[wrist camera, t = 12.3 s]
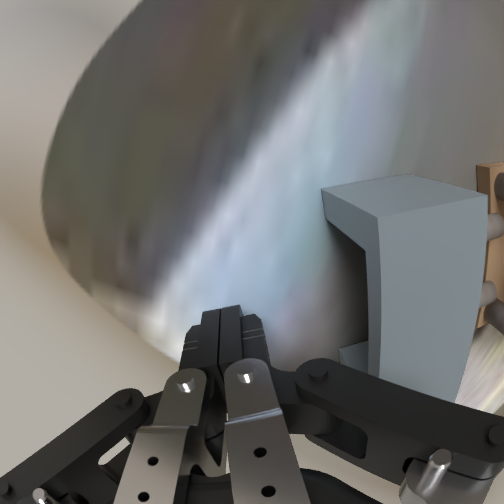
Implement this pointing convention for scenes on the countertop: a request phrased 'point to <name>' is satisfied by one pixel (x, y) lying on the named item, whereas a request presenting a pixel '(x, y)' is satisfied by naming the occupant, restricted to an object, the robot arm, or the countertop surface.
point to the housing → (415, 277)
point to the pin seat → (493, 247)
